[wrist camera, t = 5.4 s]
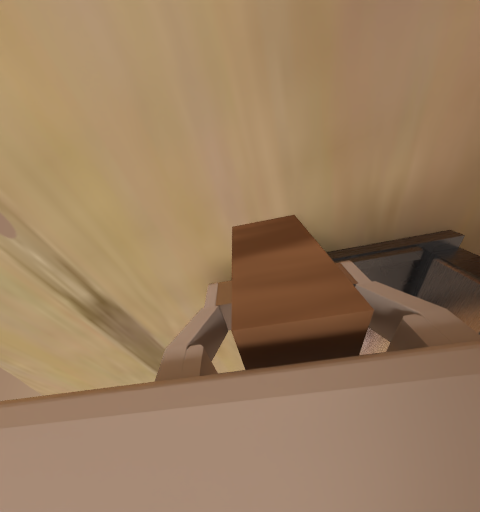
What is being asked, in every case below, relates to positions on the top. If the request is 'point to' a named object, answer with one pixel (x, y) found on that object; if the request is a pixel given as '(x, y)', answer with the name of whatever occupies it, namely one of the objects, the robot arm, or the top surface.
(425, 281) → the vise
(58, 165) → the top surface
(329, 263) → the block
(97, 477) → the robot arm
